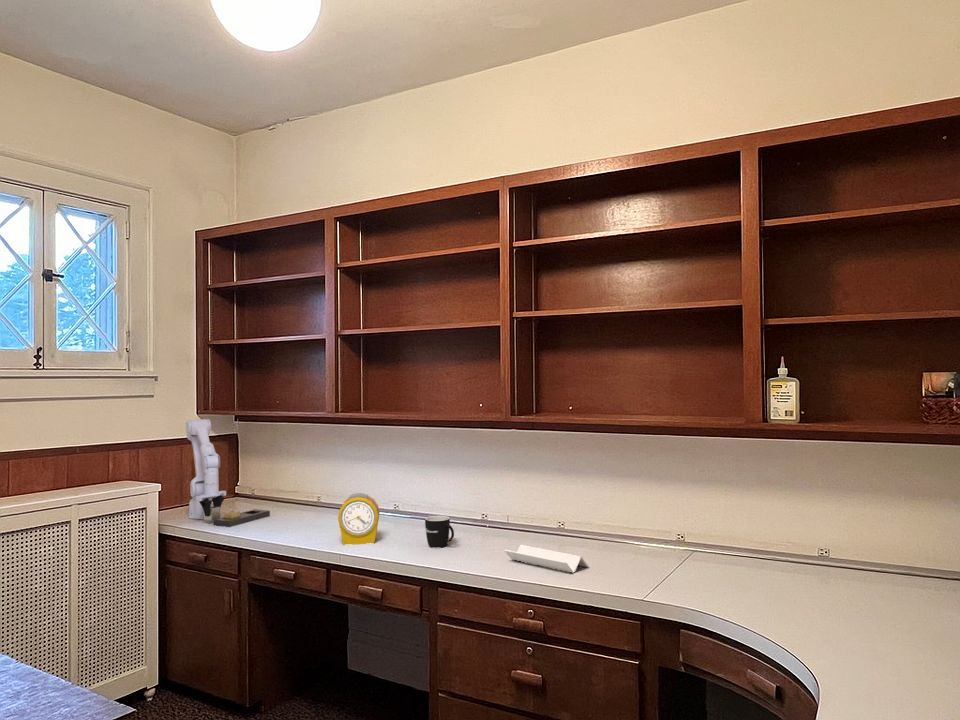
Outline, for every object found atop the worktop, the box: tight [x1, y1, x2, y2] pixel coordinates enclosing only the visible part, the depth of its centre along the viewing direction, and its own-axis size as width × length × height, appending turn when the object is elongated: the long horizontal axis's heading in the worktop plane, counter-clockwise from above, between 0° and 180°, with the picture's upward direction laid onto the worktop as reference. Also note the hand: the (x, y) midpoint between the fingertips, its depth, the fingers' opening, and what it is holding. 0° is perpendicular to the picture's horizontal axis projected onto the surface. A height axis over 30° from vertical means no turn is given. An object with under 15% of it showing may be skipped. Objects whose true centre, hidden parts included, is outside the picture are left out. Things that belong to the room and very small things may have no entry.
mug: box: [424, 515, 455, 548], centre depth 267 cm, size 12×9×10 cm
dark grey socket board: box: [212, 508, 271, 528], centre depth 320 cm, size 9×24×2 cm, turn 153°
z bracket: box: [504, 544, 590, 574], centre depth 240 cm, size 12×25×6 cm
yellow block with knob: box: [223, 510, 241, 520], centre depth 314 cm, size 4×4×5 cm
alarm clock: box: [337, 492, 380, 546], centre depth 277 cm, size 15×8×18 cm, turn 95°
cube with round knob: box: [203, 505, 221, 521], centre depth 316 cm, size 4×4×5 cm
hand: (212, 515), depth 316 cm, fingers closed on cube with round knob, 4 cm apart
